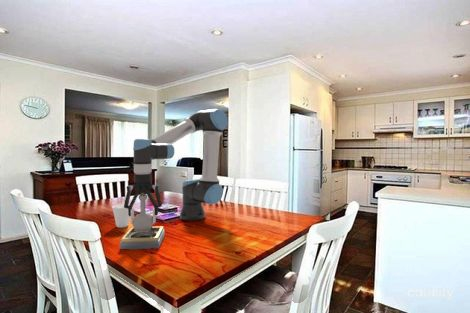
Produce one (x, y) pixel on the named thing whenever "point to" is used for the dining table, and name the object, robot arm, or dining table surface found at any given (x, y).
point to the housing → (142, 239)
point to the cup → (121, 215)
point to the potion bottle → (142, 217)
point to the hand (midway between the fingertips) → (143, 222)
